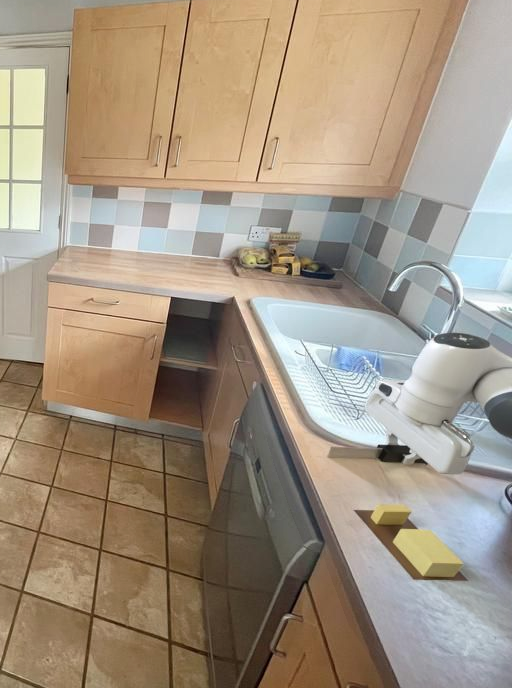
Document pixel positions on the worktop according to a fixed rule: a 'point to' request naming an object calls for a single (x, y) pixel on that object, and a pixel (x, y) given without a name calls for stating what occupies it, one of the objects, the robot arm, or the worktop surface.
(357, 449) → the knife
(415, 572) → the board
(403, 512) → the butter slice
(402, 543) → the butter block
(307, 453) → the worktop surface
